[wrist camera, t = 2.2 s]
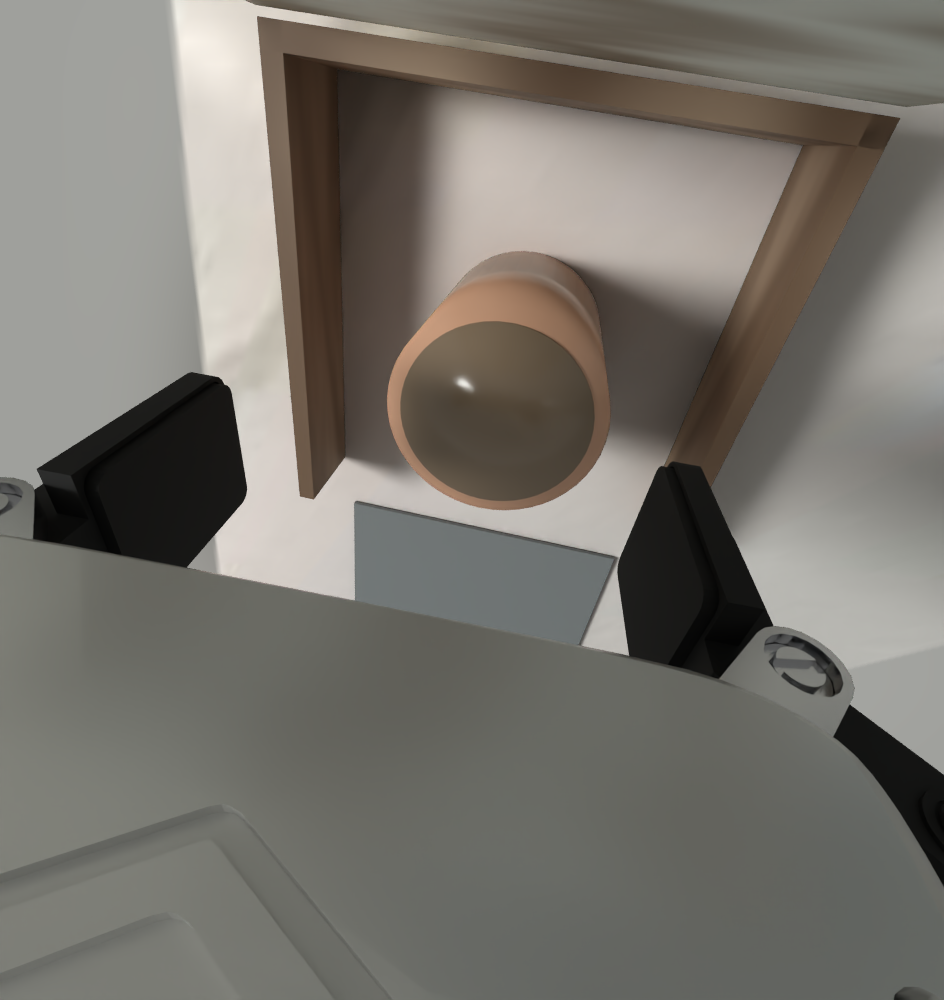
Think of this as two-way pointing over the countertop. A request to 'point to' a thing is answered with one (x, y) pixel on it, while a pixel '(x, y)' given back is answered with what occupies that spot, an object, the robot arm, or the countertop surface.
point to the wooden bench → (610, 36)
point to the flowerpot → (505, 386)
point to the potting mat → (475, 574)
